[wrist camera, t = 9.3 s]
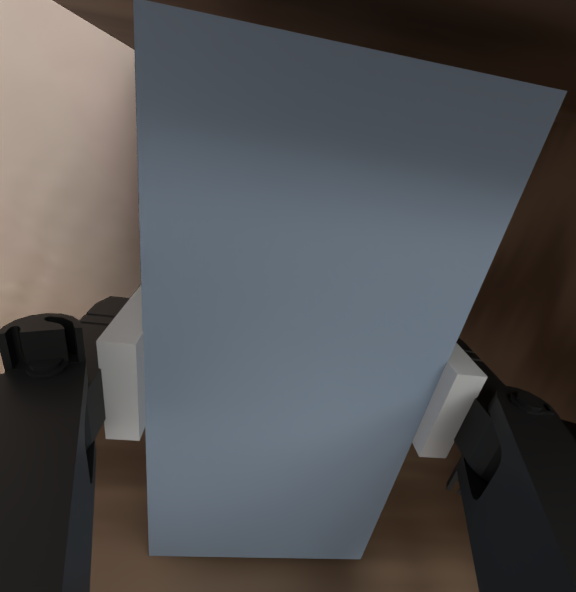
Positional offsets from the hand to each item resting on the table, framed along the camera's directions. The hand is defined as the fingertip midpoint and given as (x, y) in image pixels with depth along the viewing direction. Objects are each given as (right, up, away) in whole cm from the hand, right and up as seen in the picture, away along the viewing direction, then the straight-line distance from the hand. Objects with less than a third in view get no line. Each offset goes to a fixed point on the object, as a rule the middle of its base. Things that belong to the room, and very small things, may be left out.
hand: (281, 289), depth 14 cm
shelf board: (0, -2, -3) cm, 4 cm away
